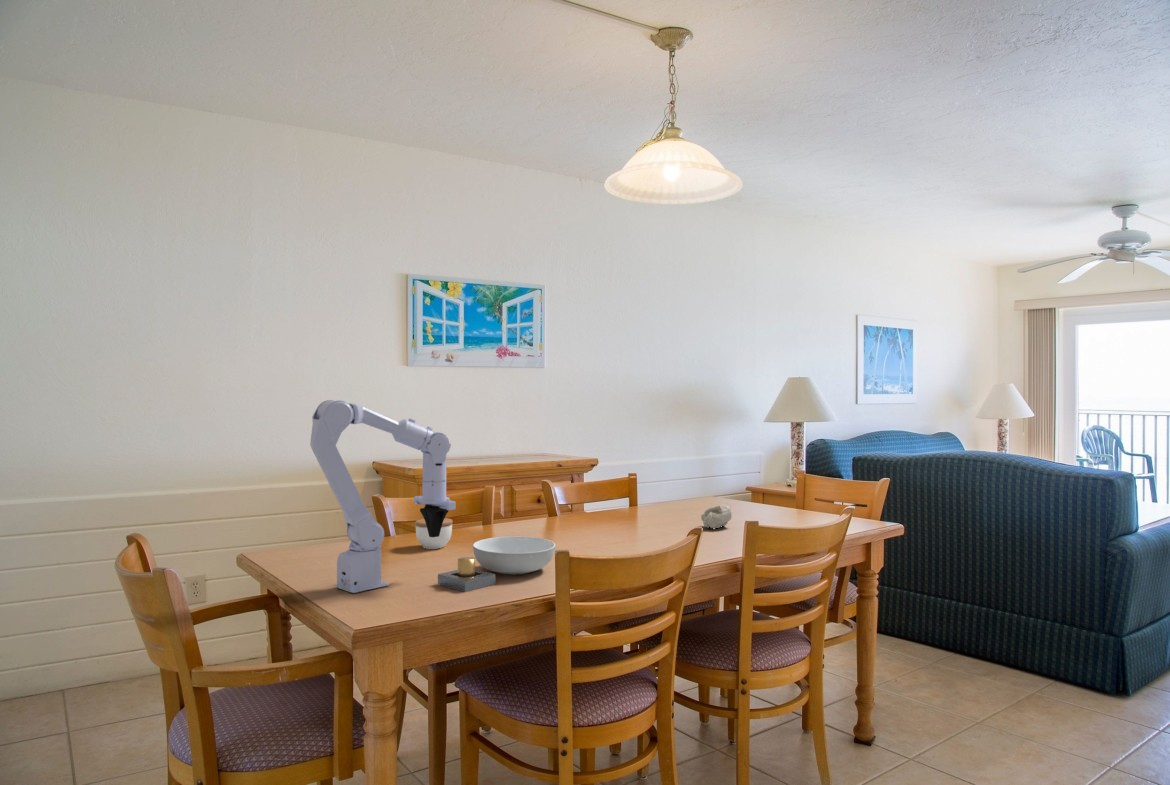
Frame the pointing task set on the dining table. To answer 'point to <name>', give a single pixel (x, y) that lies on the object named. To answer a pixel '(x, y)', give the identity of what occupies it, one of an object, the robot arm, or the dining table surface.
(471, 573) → the brass cylinder
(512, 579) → the dining table surface
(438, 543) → the lidded jar
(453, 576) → the frame
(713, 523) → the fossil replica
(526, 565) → the serving bowl
